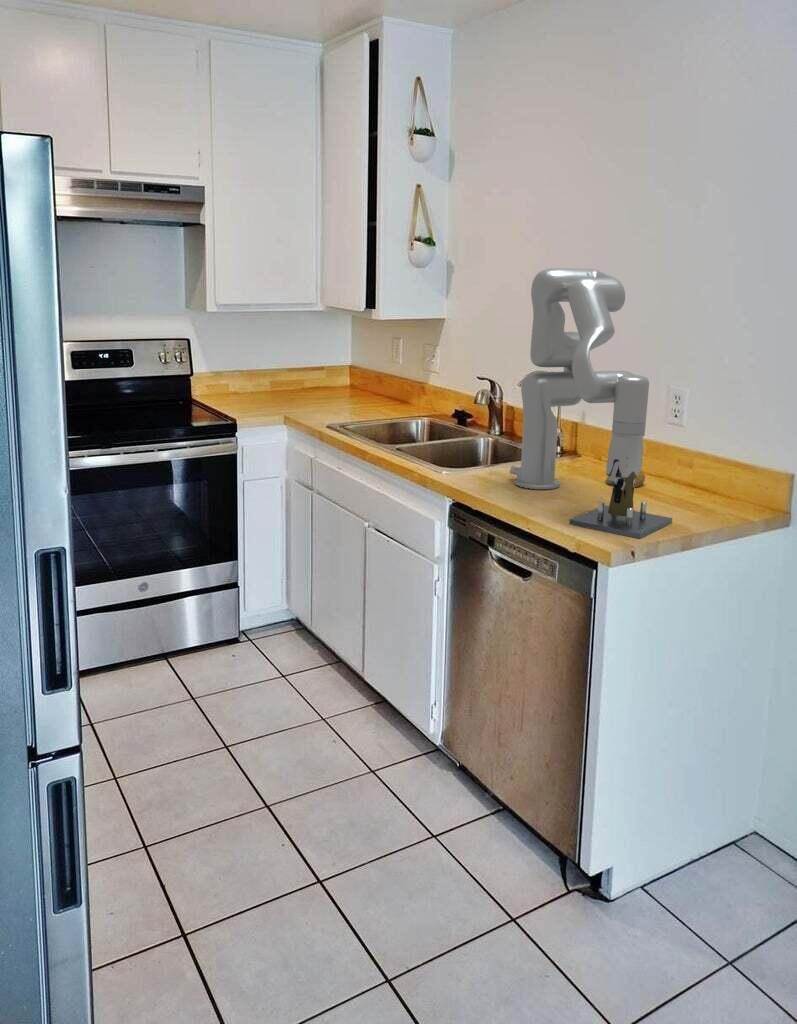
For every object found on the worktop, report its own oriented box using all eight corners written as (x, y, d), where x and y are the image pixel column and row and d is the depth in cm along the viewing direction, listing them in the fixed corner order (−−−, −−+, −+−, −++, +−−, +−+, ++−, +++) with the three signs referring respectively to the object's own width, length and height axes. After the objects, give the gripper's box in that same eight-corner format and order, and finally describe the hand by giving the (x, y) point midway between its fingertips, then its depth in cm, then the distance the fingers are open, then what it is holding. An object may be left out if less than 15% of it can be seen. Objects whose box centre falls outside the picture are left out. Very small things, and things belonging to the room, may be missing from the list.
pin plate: (569, 524, 218) (570, 503, 217) (604, 509, 232) (605, 489, 230) (639, 538, 207) (641, 516, 206) (671, 522, 221) (673, 502, 219)
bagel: (601, 480, 264) (602, 464, 263) (638, 481, 265) (640, 465, 264) (610, 489, 255) (611, 472, 254) (649, 489, 255) (650, 472, 254)
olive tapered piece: (630, 509, 222) (634, 465, 219) (636, 516, 216) (640, 471, 213) (605, 509, 222) (608, 465, 219) (611, 516, 216) (614, 470, 213)
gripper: (629, 422, 222) (623, 495, 227) (597, 431, 210) (591, 508, 215) (658, 426, 217) (651, 500, 222) (627, 435, 205) (621, 513, 210)
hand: (622, 503), depth 218 cm, fingers closed on olive tapered piece, 3 cm apart
